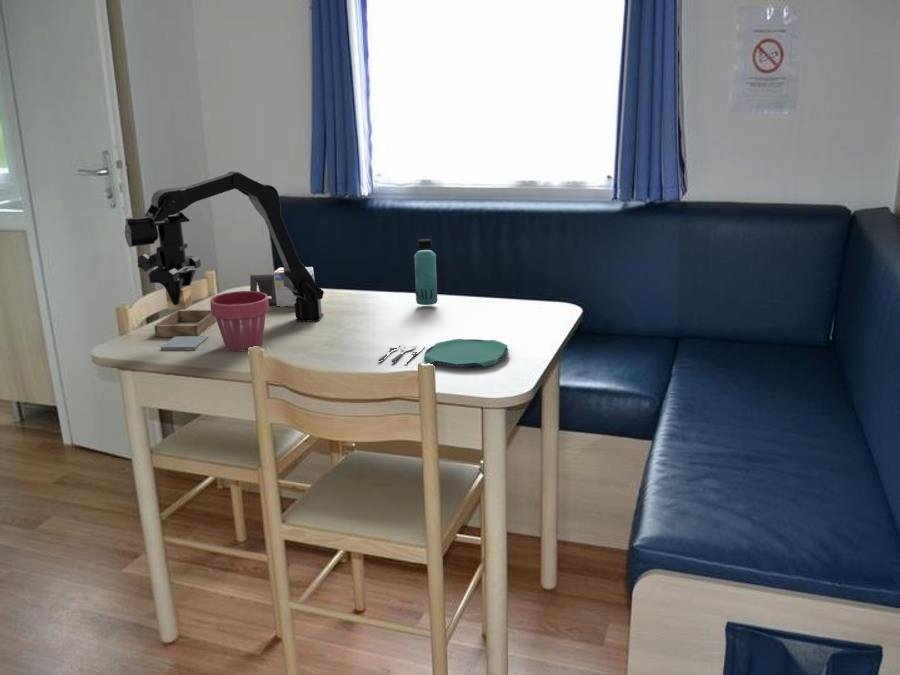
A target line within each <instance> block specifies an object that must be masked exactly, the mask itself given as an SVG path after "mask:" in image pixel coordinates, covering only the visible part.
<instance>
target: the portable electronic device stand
mask: <svg viewBox="0 0 900 675" xmlns="http://www.w3.org/2000/svg"><path fill="white" fill-rule="evenodd" d="M249 276H250V277H249V278H250V279H249V280H250V288H249V289H250V290H249V291H257V292H262V293H265V294H266V295H267V296H268V302H269V306H277V302H276V292H275V283H274V273H271V274H270V273H269V274H267V273H266V274H251V275H249ZM269 297H270V298H269Z"/></svg>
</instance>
